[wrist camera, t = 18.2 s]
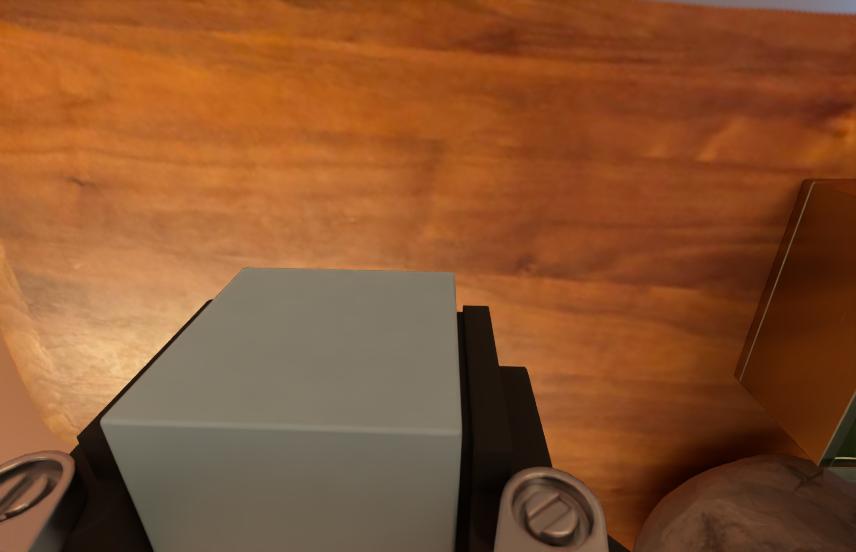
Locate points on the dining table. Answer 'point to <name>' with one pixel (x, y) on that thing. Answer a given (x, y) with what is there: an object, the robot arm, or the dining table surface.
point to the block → (301, 418)
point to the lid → (842, 479)
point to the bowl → (753, 511)
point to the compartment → (810, 327)
